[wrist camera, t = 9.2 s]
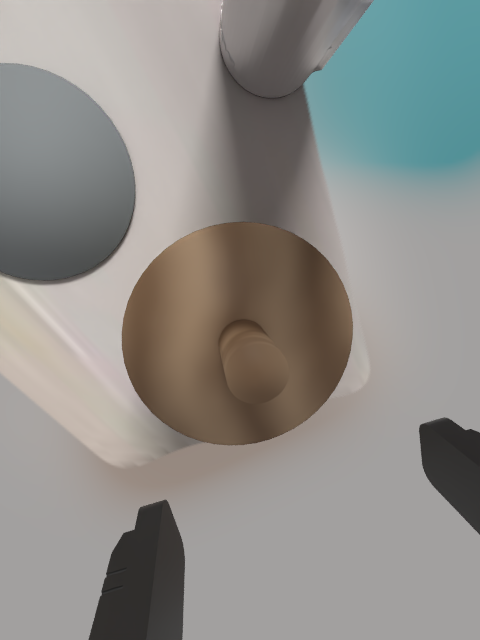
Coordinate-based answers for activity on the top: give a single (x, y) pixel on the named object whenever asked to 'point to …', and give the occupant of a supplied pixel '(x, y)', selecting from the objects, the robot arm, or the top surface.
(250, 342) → the walnut lid
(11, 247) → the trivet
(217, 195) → the top surface
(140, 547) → the robot arm
